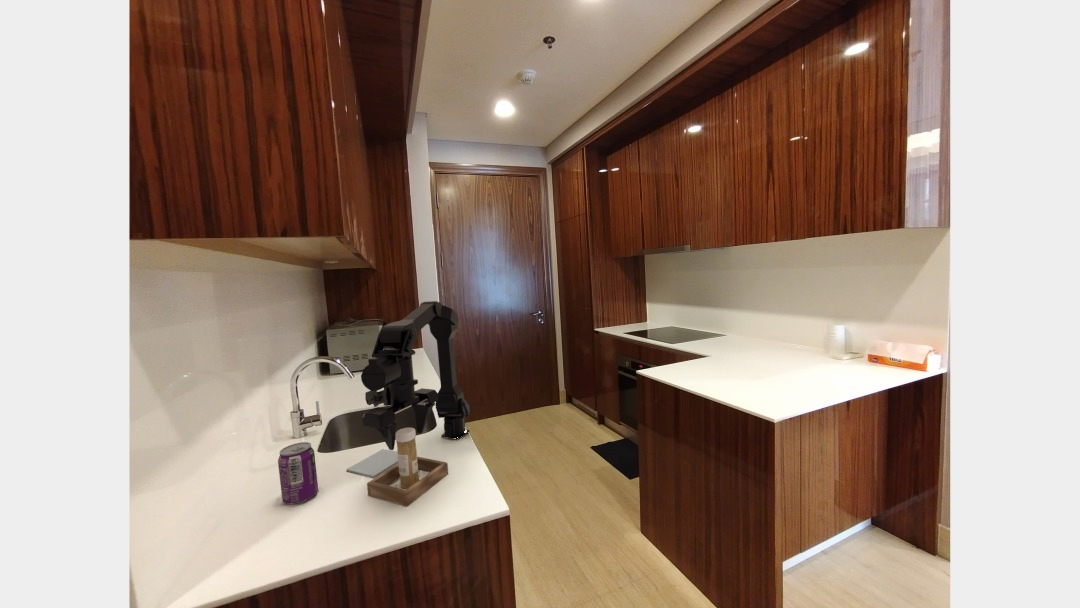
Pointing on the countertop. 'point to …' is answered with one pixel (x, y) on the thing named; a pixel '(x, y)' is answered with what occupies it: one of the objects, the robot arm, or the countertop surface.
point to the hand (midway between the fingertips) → (406, 441)
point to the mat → (375, 464)
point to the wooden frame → (406, 497)
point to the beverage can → (297, 473)
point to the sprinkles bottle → (407, 457)
